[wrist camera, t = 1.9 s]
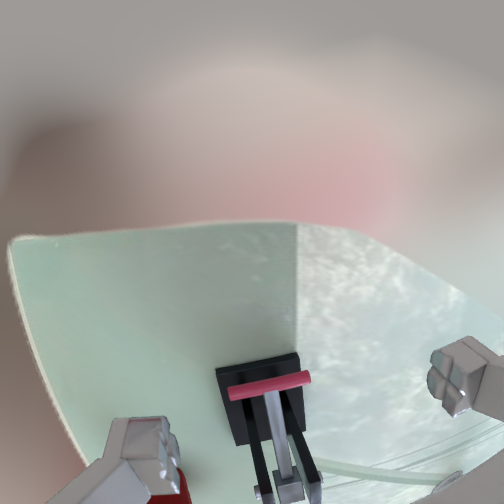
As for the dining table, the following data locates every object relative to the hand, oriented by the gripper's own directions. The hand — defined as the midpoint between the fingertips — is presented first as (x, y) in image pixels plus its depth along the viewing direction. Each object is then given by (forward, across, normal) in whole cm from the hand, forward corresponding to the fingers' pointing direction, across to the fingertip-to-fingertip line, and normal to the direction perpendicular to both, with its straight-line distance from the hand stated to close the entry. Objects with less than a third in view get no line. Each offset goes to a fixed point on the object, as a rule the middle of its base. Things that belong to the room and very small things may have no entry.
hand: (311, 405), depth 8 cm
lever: (+12, 0, +15) cm, 19 cm away
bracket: (+22, 0, +20) cm, 30 cm away
